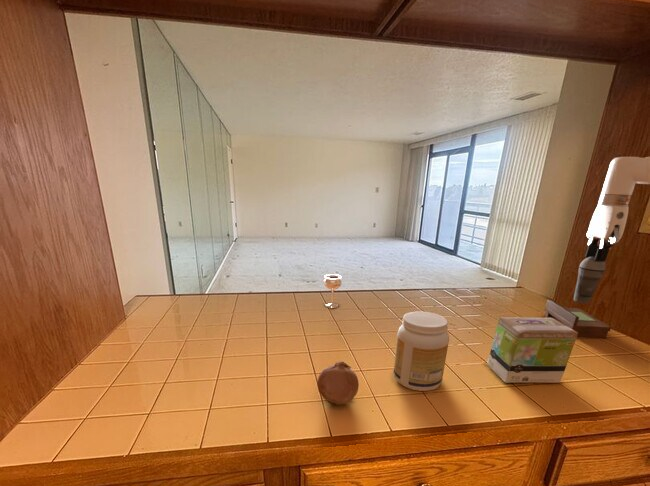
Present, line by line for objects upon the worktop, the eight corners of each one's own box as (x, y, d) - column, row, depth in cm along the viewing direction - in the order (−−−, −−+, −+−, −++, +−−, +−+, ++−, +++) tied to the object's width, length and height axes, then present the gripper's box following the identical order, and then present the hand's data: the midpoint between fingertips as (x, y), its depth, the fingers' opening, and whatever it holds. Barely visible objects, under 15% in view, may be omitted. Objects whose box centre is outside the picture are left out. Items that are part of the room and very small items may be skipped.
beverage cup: (573, 296, 124) (590, 240, 117) (597, 301, 119) (617, 243, 111) (565, 300, 120) (583, 242, 113) (589, 306, 115) (610, 245, 107)
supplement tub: (450, 380, 89) (461, 319, 82) (424, 399, 81) (435, 333, 74) (409, 362, 97) (417, 306, 90) (383, 378, 89) (389, 317, 83)
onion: (337, 400, 85) (344, 360, 85) (363, 411, 77) (370, 366, 78) (305, 399, 79) (313, 356, 80) (330, 410, 72) (338, 362, 72)
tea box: (505, 384, 87) (520, 331, 82) (486, 364, 97) (497, 316, 91) (562, 383, 89) (579, 331, 83) (537, 364, 98) (551, 315, 92)
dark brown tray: (575, 318, 131) (581, 300, 129) (607, 338, 115) (614, 318, 112) (542, 316, 132) (547, 299, 129) (569, 336, 116) (576, 317, 113)
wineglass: (320, 306, 138) (320, 276, 133) (330, 301, 143) (330, 273, 138) (334, 309, 134) (335, 280, 129) (343, 305, 139) (345, 276, 134)
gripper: (647, 203, 99) (624, 265, 106) (608, 199, 114) (590, 254, 122) (620, 202, 100) (599, 264, 107) (584, 198, 115) (568, 253, 122)
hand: (594, 258), depth 114 cm, fingers closed on beverage cup, 4 cm apart
